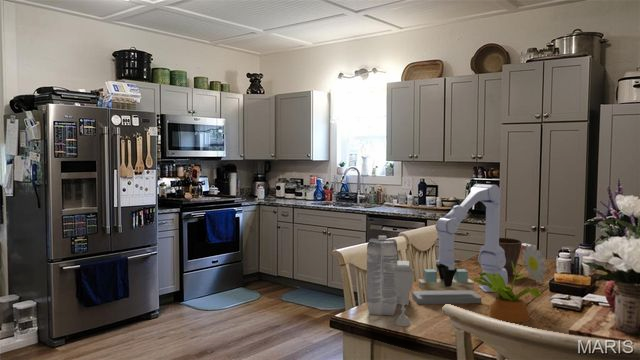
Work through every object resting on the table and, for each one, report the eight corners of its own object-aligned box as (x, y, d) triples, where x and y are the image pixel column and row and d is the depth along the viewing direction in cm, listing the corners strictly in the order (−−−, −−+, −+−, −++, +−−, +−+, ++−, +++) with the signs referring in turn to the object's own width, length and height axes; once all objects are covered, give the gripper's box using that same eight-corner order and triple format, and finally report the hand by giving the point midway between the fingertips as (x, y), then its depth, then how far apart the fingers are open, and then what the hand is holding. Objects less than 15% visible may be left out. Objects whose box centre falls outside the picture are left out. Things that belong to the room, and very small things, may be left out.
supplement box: (409, 305, 184) (409, 265, 183) (384, 304, 186) (384, 264, 185) (409, 298, 193) (409, 260, 192) (386, 297, 195) (386, 259, 194)
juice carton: (396, 317, 171) (397, 238, 170) (366, 315, 173) (366, 238, 171) (397, 309, 180) (397, 234, 178) (368, 307, 181) (368, 234, 180)
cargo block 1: (434, 279, 193) (434, 269, 193) (436, 282, 189) (437, 271, 189) (423, 279, 193) (423, 269, 193) (426, 282, 189) (426, 271, 189)
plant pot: (528, 275, 230) (528, 241, 230) (508, 279, 222) (508, 244, 221) (500, 269, 243) (500, 236, 242) (480, 273, 234) (480, 239, 234)
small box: (515, 264, 255) (516, 243, 255) (525, 263, 257) (525, 243, 256) (526, 267, 247) (527, 246, 247) (536, 266, 249) (536, 245, 249)
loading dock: (472, 295, 197) (472, 290, 197) (481, 303, 187) (481, 297, 187) (411, 296, 196) (412, 291, 196) (417, 303, 186) (417, 298, 186)
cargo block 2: (464, 279, 193) (464, 269, 193) (467, 281, 189) (467, 271, 189) (454, 279, 193) (454, 269, 193) (457, 282, 189) (457, 271, 189)
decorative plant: (561, 325, 162) (563, 249, 161) (494, 331, 157) (495, 252, 156) (512, 302, 188) (513, 236, 187) (454, 306, 183) (454, 238, 182)
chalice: (390, 320, 168) (390, 267, 167) (410, 319, 168) (410, 266, 167) (395, 327, 160) (395, 272, 160) (416, 327, 161) (416, 271, 160)
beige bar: (469, 286, 194) (469, 278, 194) (473, 290, 189) (473, 282, 189) (418, 287, 193) (418, 279, 193) (421, 290, 188) (421, 282, 188)
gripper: (431, 246, 198) (430, 279, 198) (441, 253, 183) (440, 289, 184) (448, 245, 198) (448, 279, 199) (460, 252, 184) (459, 289, 184)
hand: (445, 284), depth 191 cm, fingers closed on beige bar, 5 cm apart
